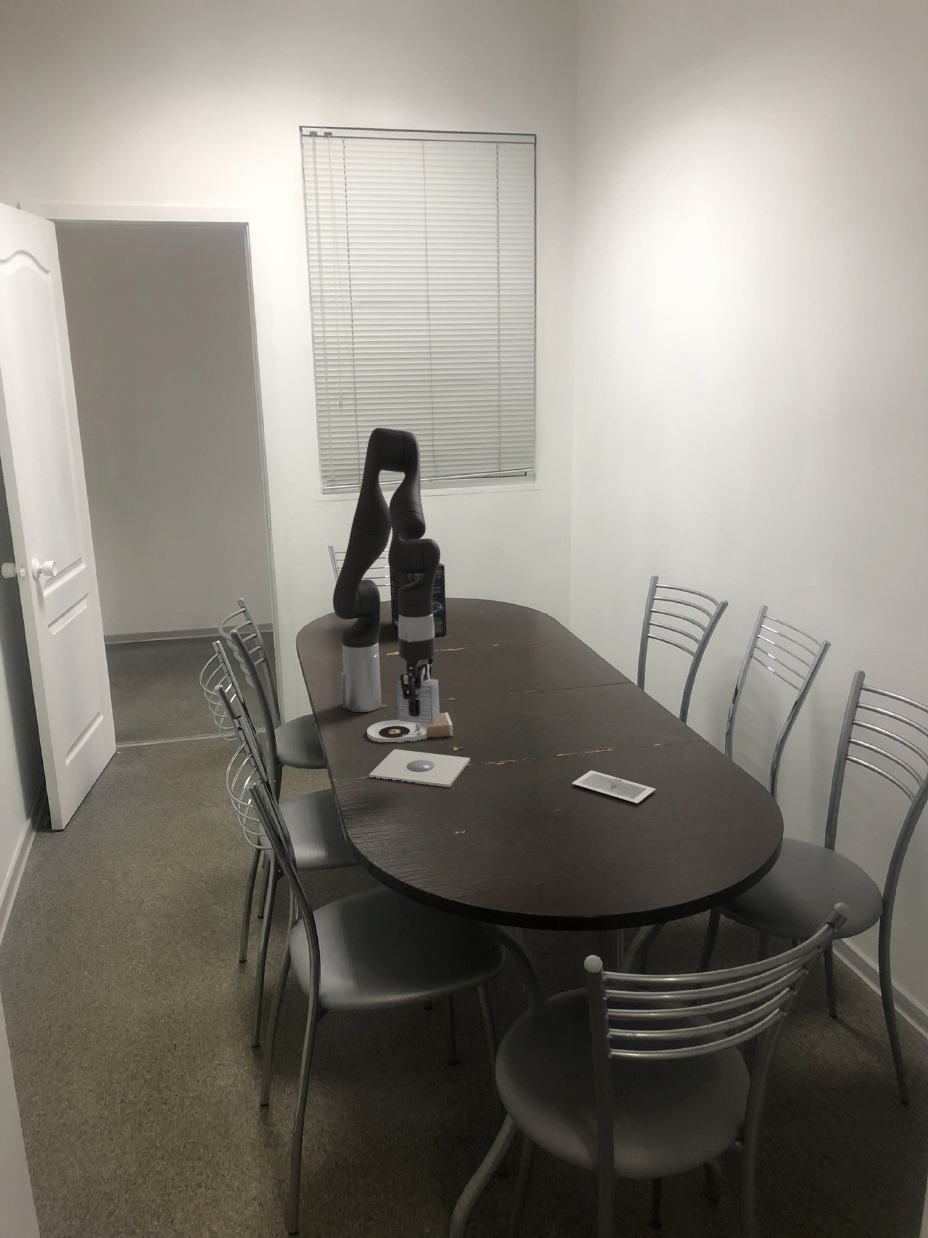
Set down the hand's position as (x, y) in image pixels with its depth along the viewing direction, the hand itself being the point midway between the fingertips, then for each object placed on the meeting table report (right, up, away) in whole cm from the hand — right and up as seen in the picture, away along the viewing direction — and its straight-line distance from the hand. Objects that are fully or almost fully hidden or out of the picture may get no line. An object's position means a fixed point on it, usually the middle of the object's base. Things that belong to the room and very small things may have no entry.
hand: (418, 711), depth 186 cm
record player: (-4, -8, +24) cm, 25 cm away
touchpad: (+40, -16, -8) cm, 44 cm away
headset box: (-6, +16, +113) cm, 114 cm away
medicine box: (0, -2, +1) cm, 2 cm away
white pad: (0, -13, +3) cm, 13 cm away
